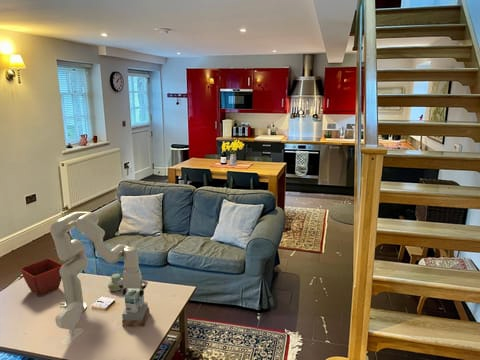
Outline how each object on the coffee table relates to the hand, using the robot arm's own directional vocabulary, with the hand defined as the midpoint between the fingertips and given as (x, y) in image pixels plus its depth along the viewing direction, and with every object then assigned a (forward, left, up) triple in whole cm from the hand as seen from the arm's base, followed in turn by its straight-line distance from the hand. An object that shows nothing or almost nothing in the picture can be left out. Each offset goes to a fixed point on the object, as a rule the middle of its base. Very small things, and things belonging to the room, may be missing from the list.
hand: (133, 295), depth 206 cm
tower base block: (+1, 0, -16) cm, 16 cm away
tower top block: (+1, -1, -12) cm, 12 cm away
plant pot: (-71, +30, -16) cm, 79 cm away
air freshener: (-23, +32, -16) cm, 43 cm away
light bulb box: (+1, 0, -8) cm, 8 cm away
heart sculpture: (-30, -16, -16) cm, 37 cm away
